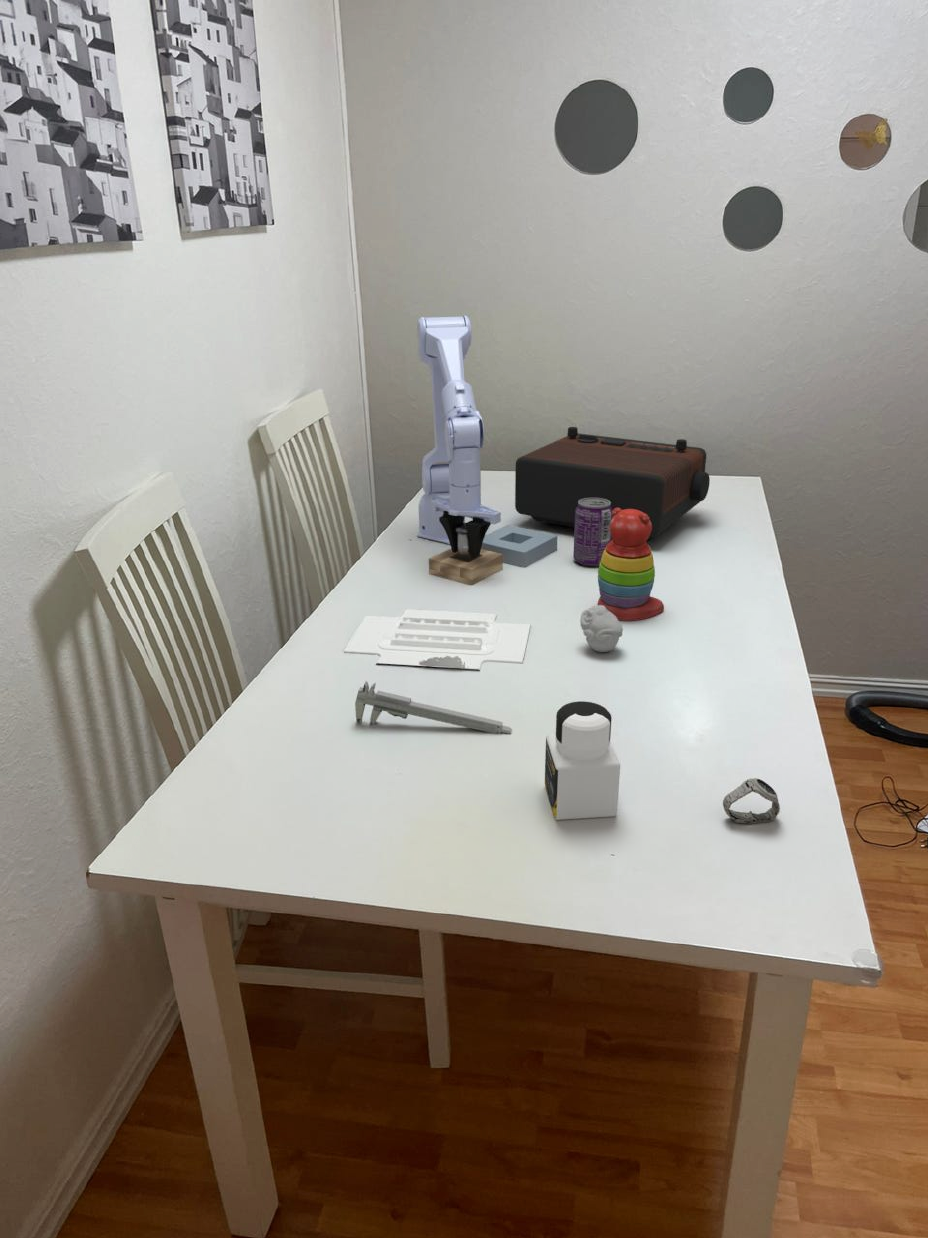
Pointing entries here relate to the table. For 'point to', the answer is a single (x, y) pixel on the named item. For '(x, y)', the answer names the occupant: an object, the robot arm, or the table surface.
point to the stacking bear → (628, 568)
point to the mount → (465, 566)
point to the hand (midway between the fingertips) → (465, 553)
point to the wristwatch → (750, 817)
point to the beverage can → (591, 530)
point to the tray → (440, 639)
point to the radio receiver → (611, 478)
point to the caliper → (419, 711)
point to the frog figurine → (600, 628)
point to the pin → (463, 543)
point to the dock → (520, 544)
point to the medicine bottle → (582, 763)
